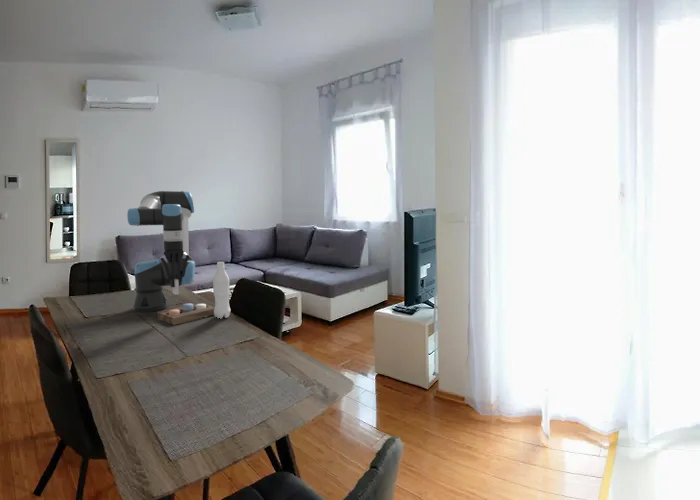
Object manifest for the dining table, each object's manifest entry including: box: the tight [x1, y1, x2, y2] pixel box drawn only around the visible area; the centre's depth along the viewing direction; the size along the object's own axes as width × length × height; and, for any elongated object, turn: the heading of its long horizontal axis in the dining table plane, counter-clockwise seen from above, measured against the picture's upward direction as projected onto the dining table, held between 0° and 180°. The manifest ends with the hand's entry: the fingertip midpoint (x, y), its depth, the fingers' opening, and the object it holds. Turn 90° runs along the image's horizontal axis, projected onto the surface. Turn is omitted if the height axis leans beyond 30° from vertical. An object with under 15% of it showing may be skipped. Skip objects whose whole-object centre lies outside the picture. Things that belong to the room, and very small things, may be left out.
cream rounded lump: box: [196, 303, 207, 309], centre depth 191 cm, size 4×4×4 cm
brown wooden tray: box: [156, 302, 215, 326], centre depth 186 cm, size 14×21×3 cm, turn 142°
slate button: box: [182, 302, 194, 312], centre depth 186 cm, size 4×4×4 cm
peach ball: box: [169, 308, 180, 316], centre depth 181 cm, size 4×4×4 cm
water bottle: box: [212, 261, 231, 320], centre depth 184 cm, size 7×7×25 cm
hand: (175, 293), depth 181 cm, fingers closed
